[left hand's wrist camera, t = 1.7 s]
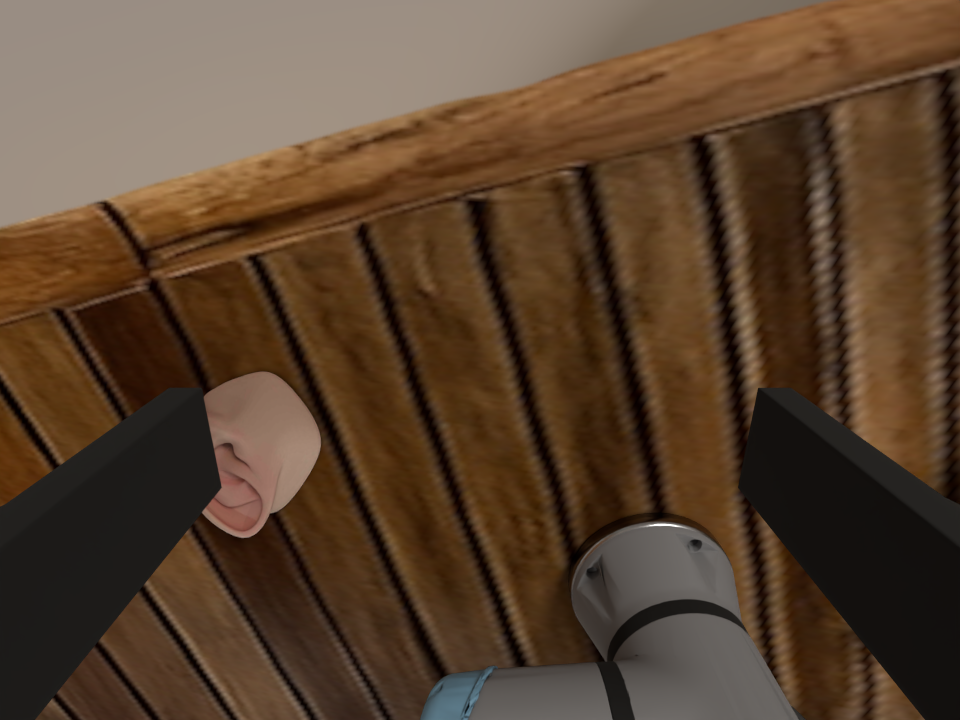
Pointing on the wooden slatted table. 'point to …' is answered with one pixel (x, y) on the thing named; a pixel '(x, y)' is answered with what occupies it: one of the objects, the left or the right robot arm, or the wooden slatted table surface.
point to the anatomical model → (258, 449)
